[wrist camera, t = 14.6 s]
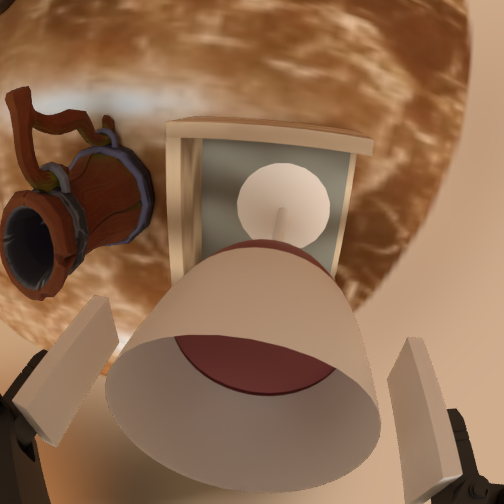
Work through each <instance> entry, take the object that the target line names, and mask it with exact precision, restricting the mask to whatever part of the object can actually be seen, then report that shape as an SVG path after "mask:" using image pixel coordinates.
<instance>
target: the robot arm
mask: <svg viewBox="0 0 504 504" xmlns="http://www.w3.org/2000/svg"><path fill="white" fill-rule="evenodd" d="M13 1H14V0H0V14H1V13H2V12H4V11H5V10H6V9H7V8H8V7H9V6H10V5H11V4H12V3H13ZM118 344H119V339H118V335H117V331H116V328H115V324H114V320H113V316H112V312H111V308H110V304H109V299H108V298H106V297H101V296H97V295H94V296H93V298H92V299H91V300H90V301H89V302H88V303H87V305H86V306H85V307H84V308H83V309H82V310H81V312H80V313H79V314H78V315H77V316H76V318H75V319H74V320H73V321H72V322H71V324H70V325H69V326H68V327H67V329H66V330H65V331H64V332H63V333H62V335H61V336H60V337H59V338H58V340H57V341H56V342H55V343H54V345H53V346H52V347H51V349H50V350H49V351H46V350H44V349H43V350H41V351H40V352H39V353H37V354H36V355H34V356H33V357H32V359H31V360H30V361H29V363H28V364H27V366H25V368H24V369H23V370H22V373H20V374H19V376H18V377H17V378H16V379H15V381H14V382H13V383H12V385H11V386H10V388H9V389H8V391H7V392H6V393H5V394H4V396H3V397H2V396H1V394H0V504H51V502H50V499H49V496H48V492H47V488H46V484H45V480H44V477H43V472H42V468H41V463H40V458H39V453H38V448H37V443H36V440H35V438H34V437H35V435H36V433H37V434H38V435H39V436H40V437H41V439H42V440H43V441H45V442H47V443H49V444H51V445H53V446H55V447H57V446H58V445H59V443H60V441H61V439H62V437H63V435H64V434H65V432H66V430H67V428H68V427H69V425H70V423H71V421H72V420H73V418H74V416H75V414H76V413H77V411H78V409H79V408H80V406H81V404H82V402H83V401H84V399H85V397H86V396H87V393H88V392H89V391H90V389H91V387H92V385H93V384H94V382H95V381H96V379H97V377H98V376H99V374H100V372H101V371H102V369H103V367H104V366H105V364H106V363H107V361H108V359H109V358H110V356H111V355H112V353H113V351H114V350H115V348H116V347H117V345H118ZM387 381H388V387H389V392H390V397H391V402H392V408H393V414H394V419H395V426H396V432H397V439H398V446H399V453H400V460H401V468H402V478H403V486H404V498H405V504H423V503H425V502H426V501H428V500H429V499H430V498H431V504H504V485H502V484H501V485H500V484H491V483H489V482H488V480H487V479H486V478H485V477H484V476H481V475H479V473H478V470H477V466H476V462H475V458H474V454H473V450H472V447H471V443H470V440H469V436H468V432H467V431H466V425H465V422H464V419H463V417H462V416H461V414H460V413H459V412H458V410H457V409H446V406H445V402H444V399H443V396H442V393H441V389H440V386H439V383H438V380H437V377H436V374H435V371H434V368H433V365H432V362H431V360H430V357H429V354H428V351H427V348H426V346H425V344H424V340H423V338H416V337H407V339H406V341H405V344H404V346H403V348H402V350H401V352H400V354H399V357H398V358H397V360H396V362H395V364H394V367H393V368H392V370H391V372H390V374H389V376H388V378H387Z"/></svg>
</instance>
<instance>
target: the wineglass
mask: <svg viewBox="0 0 504 504" xmlns="http://www.w3.org/2000/svg"><path fill="white" fill-rule="evenodd" d="M237 209H238V217H239V219H240V222H241V224H242V227H243V229H244V230H245V231H246V232H247V233H248V235H249V236H250V237H251V238H252V239H253V240H246V241H242V242H238V243H235V244H233V245H230V246H228V247H226V248H223V249H221V250H219V251H217V252H215V253H214V254H212V255H211V256H209V257H207V258H206V259H204V260H203V261H201V262H200V263H199V264H197V265H196V266H195V267H193V268H192V269H191V270H190V271H189V272H188V273H187V274H185V275H184V276H183V277H182V278H181V279H180V280H179V281H178V282H177V283H176V284H175V285H174V286H173V287H172V288H171V289H170V290H169V291H168V292H167V293H166V294H165V295H164V296H163V298H162V299H161V300H160V301H159V302H158V304H157V305H156V306H155V307H154V309H153V310H152V311H151V312H150V314H149V315H148V316H147V317H146V319H145V320H144V321H143V322H142V324H141V325H140V326H139V327H138V329H137V330H136V331H135V332H134V334H133V335H132V337H131V338H130V340H129V341H128V342H127V344H126V345H125V347H124V348H123V350H122V351H121V353H120V354H119V356H118V357H117V359H116V360H115V362H114V363H113V365H112V367H111V368H110V370H109V372H108V374H107V378H106V383H105V393H106V400H107V403H108V407H109V410H110V412H111V413H112V416H113V417H114V420H115V421H116V423H117V424H118V426H119V427H120V428H121V430H122V431H123V432H124V433H125V435H126V436H127V437H128V438H129V439H130V440H131V441H132V442H133V443H134V444H135V445H136V446H137V447H139V448H140V449H141V450H142V451H143V452H145V453H146V454H147V455H149V456H150V457H151V458H153V459H154V460H156V461H157V462H159V463H161V464H162V465H164V466H166V467H167V468H169V469H171V470H173V471H175V472H177V473H179V474H181V475H184V476H186V477H189V478H192V479H194V480H196V481H199V482H203V483H206V484H209V485H212V486H216V487H221V488H225V489H230V490H236V491H243V492H254V493H281V492H292V491H299V490H304V489H309V488H313V487H317V486H321V485H324V484H326V483H329V482H332V481H334V480H337V479H339V478H341V477H342V476H345V475H346V474H348V473H350V472H351V471H352V470H354V469H355V468H357V467H358V466H359V465H361V464H362V463H363V462H364V461H365V460H366V459H367V458H368V457H369V455H370V454H371V453H372V451H373V450H374V448H375V446H376V444H377V442H378V439H379V437H380V429H381V420H380V414H379V408H378V402H377V397H376V391H375V386H374V382H373V378H372V374H371V369H370V365H369V361H368V358H367V354H366V350H365V346H364V343H363V339H362V336H361V333H360V330H359V327H358V324H357V321H356V319H355V316H354V314H353V312H352V309H351V307H350V306H349V304H348V302H347V300H346V298H345V296H344V294H343V293H342V291H341V289H340V287H339V286H338V284H337V283H336V282H335V280H334V279H333V278H332V276H331V275H330V274H329V273H328V271H327V270H326V269H325V268H324V267H323V266H322V265H321V264H320V263H319V262H318V261H317V260H316V259H315V258H313V257H312V256H311V255H310V254H308V253H307V252H305V251H303V250H302V249H300V248H303V247H305V246H307V245H308V244H310V243H312V242H313V241H315V240H316V239H317V238H318V237H319V235H320V234H321V233H322V232H323V231H324V229H325V227H326V224H327V222H328V219H329V215H330V201H329V198H328V195H327V191H326V189H325V187H324V186H323V184H322V183H321V182H320V180H319V179H318V177H317V176H315V175H314V174H312V173H311V172H310V171H308V170H307V169H306V168H303V167H300V166H297V165H294V164H291V163H274V164H271V165H268V166H265V167H262V168H260V169H258V170H257V171H256V172H254V173H253V174H252V175H250V176H249V177H248V178H247V180H246V181H245V183H244V184H243V186H242V187H241V189H240V193H239V196H238V200H237Z"/></svg>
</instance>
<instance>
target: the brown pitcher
mask: <svg viewBox="0 0 504 504" xmlns="http://www.w3.org/2000/svg"><path fill="white" fill-rule="evenodd" d="M5 101H6V104H7V106H8V109H9V111H10V115H11V121H12V127H13V133H14V143H15V150H16V156H17V160H18V164H19V166H20V169H21V171H22V173H23V175H24V177H25V179H26V180H27V181H28V182H29V184H30V185H31V186H32V187H34V189H33V190H32V191H30V190H24V191H18V192H15V193H14V195H13V196H12V198H11V199H10V201H9V202H8V204H7V205H6V207H5V208H4V210H3V215H2V220H1V225H0V254H1V259H2V264H3V266H4V268H5V270H6V272H7V274H8V276H9V277H10V279H11V281H12V283H13V284H14V285H15V286H16V287H17V288H18V290H20V291H21V292H22V293H23V294H24V295H25V296H27V297H28V298H30V299H32V300H39V301H43V300H44V299H45V297H54V296H55V295H56V294H57V293H58V292H59V291H60V289H61V288H62V287H63V284H64V282H65V280H66V278H67V276H68V275H69V274H71V273H72V272H73V271H74V270H75V269H76V268H77V267H78V266H79V265H80V264H81V263H82V262H83V260H84V257H85V255H86V254H87V253H89V252H90V251H92V250H93V249H95V248H97V247H100V246H111V245H117V244H126V243H130V242H131V241H132V240H133V239H134V238H135V237H136V236H138V235H139V234H140V233H141V232H142V231H143V230H144V229H145V228H147V227H148V225H149V224H150V218H151V213H152V207H153V202H154V197H153V192H152V186H151V181H150V175H149V171H148V170H147V169H146V168H145V166H144V165H143V164H142V163H141V162H140V160H139V159H138V158H137V157H136V155H135V154H134V153H133V152H132V150H130V149H127V148H124V147H121V146H118V143H117V139H116V135H115V134H114V133H113V130H114V121H113V120H112V119H111V118H110V116H108V115H104V116H103V118H102V124H103V128H101V129H98V130H97V131H96V132H95V130H94V127H93V125H92V122H91V120H90V118H89V116H88V115H87V113H86V111H80V110H72V109H68V110H65V111H63V112H61V113H57V114H54V115H44V114H41V113H39V112H37V111H35V110H34V108H33V105H32V98H31V90H30V88H29V86H27V87H20V88H17V89H14V90H12V91H10V92H8V93H7V94H6V97H5ZM32 128H35V129H36V130H38V131H41V132H44V133H48V134H54V135H61V134H64V133H68V132H71V131H73V130H76V129H77V130H78V132H79V133H80V135H81V136H82V137H83V138H84V140H85V141H86V142H88V143H89V144H91V145H92V147H90V148H87V149H84V150H82V151H80V152H79V153H78V155H77V156H76V157H75V159H74V160H73V162H72V163H71V165H70V166H69V167H65V166H63V165H61V164H56V163H54V162H49V163H47V164H44V165H42V166H41V167H40V168H39V166H38V163H37V160H36V157H35V152H34V146H33V138H32Z"/></svg>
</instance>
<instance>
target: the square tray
mask: <svg viewBox="0 0 504 504" xmlns="http://www.w3.org/2000/svg"><path fill="white" fill-rule="evenodd" d="M373 145H374V139H372V138H370V137H368V136H366V135H364V134H363V133H361V132H359V131H354V130H348V129H341V128H335V127H328V126H320V125H312V124H304V123H295V122H285V121H274V120H262V119H247V118H228V117H189V118H184V119H178V120H173V121H168V122H166V194H167V221H168V240H169V256H170V270H171V283H172V287H173V286H174V285H175V284H176V283H177V282H178V281H179V280H180V279H181V278H182V277H183V276H184V275H185V274H187V273H188V272H189V271H190V270H191V269H192V268H193V267H195V266H196V265H197V264H199V263H200V262H201V261H203V260H204V259H206V258H207V257H209V256H211V255H212V254H214V253H215V252H217V251H219V250H221V249H223V248H226V247H228V246H230V245H233V244H235V243H238V242H242V241H246V240H253V239H252V238H251V237H250V236H249V235H248V233H247V232H246V231H245V230H244V229H243V227H242V224H241V222H240V219H239V217H238V209H237V200H238V196H239V193H240V189H241V187H242V186H243V184H244V183H245V181H246V180H247V178H248V177H249V176H250V175H252V174H253V173H254V172H256V171H257V170H258V169H260V168H262V167H265V166H268V165H271V164H274V163H291V164H294V165H297V166H300V167H303V168H306V169H307V170H308V171H310V172H311V173H312V174H314V175H315V176H317V177H318V179H319V180H320V182H321V183H322V184H323V186H324V187H325V189H326V191H327V195H328V198H329V201H330V215H329V219H328V222H327V224H326V227H325V229H324V231H323V232H322V233H321V234H320V235H319V237H318V238H317V239H316V240H315V241H313V242H312V243H310V244H308V245H307V246H305V247H303V248H300V249H302V250H303V251H305V252H307V253H308V254H310V255H311V256H312V257H313V258H315V259H316V260H317V261H318V262H319V263H320V264H321V265H322V266H323V267H324V268H325V269H326V270H327V271H328V273H329V274H330V275H331V276H332V278H333V279H334V280H335V275H336V270H337V265H338V260H339V255H340V251H341V245H342V240H343V235H344V230H345V224H346V219H347V213H348V207H349V202H350V196H351V189H352V183H353V176H354V170H355V163H356V156H357V154H362V155H368V156H372V152H373Z"/></svg>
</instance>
